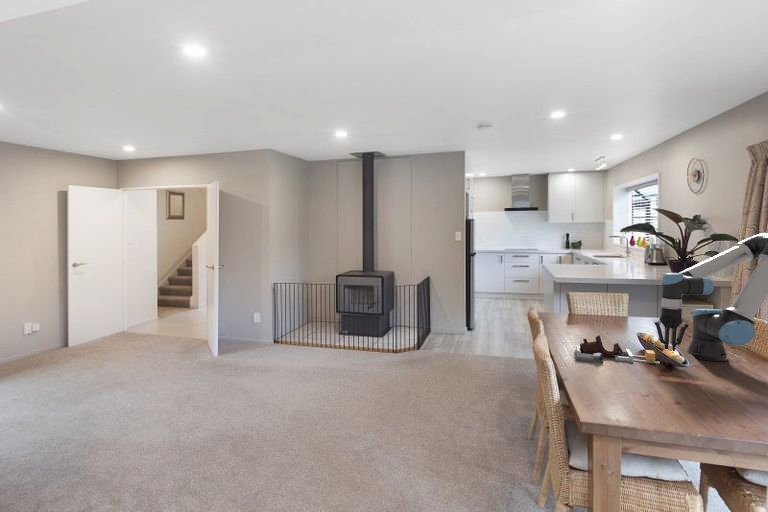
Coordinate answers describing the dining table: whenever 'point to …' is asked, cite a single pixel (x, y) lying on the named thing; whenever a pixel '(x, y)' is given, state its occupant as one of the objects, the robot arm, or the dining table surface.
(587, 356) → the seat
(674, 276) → the robot arm
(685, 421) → the dining table surface
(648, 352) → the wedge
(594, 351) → the dark brown irregular piece
